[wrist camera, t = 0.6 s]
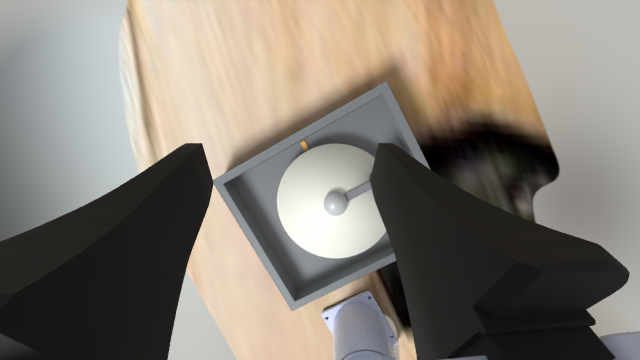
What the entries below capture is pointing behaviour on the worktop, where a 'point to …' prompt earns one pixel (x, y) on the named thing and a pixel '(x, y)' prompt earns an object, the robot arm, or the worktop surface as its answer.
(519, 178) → the worktop surface
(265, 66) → the worktop surface
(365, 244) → the dial
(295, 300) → the bezel plate
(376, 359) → the robot arm
